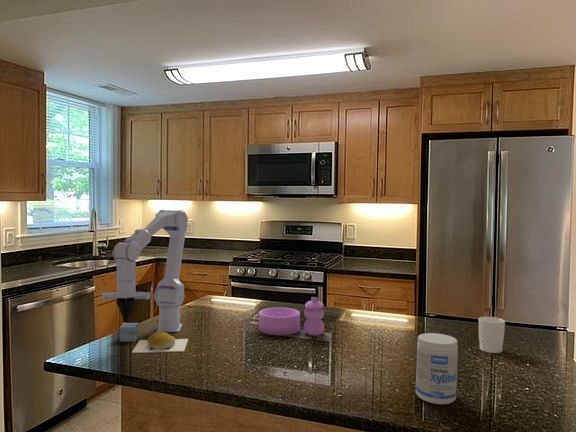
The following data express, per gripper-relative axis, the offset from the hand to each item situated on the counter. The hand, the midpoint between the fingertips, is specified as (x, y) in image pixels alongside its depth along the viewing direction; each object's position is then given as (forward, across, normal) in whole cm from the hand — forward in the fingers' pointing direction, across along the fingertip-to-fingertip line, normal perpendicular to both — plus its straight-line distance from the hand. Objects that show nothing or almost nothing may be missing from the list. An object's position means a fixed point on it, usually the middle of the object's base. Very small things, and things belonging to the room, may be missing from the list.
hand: (126, 321), depth 144 cm
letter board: (+8, +11, 0) cm, 14 cm away
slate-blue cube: (+8, -1, +8) cm, 12 cm away
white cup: (+9, +118, -13) cm, 119 cm away
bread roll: (+8, +11, 0) cm, 14 cm away
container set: (+9, +56, +14) cm, 58 cm away
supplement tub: (+9, +84, -45) cm, 96 cm away
